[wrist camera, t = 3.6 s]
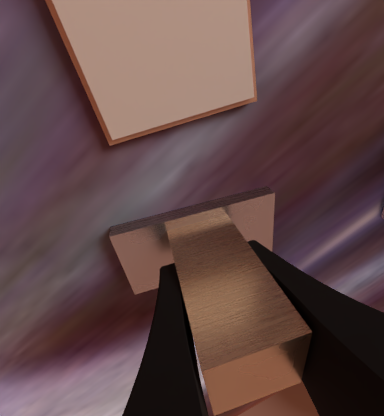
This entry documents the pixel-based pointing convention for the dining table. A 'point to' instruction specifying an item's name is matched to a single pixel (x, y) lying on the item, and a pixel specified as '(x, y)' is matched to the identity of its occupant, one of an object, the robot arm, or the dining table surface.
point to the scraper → (223, 292)
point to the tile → (158, 59)
